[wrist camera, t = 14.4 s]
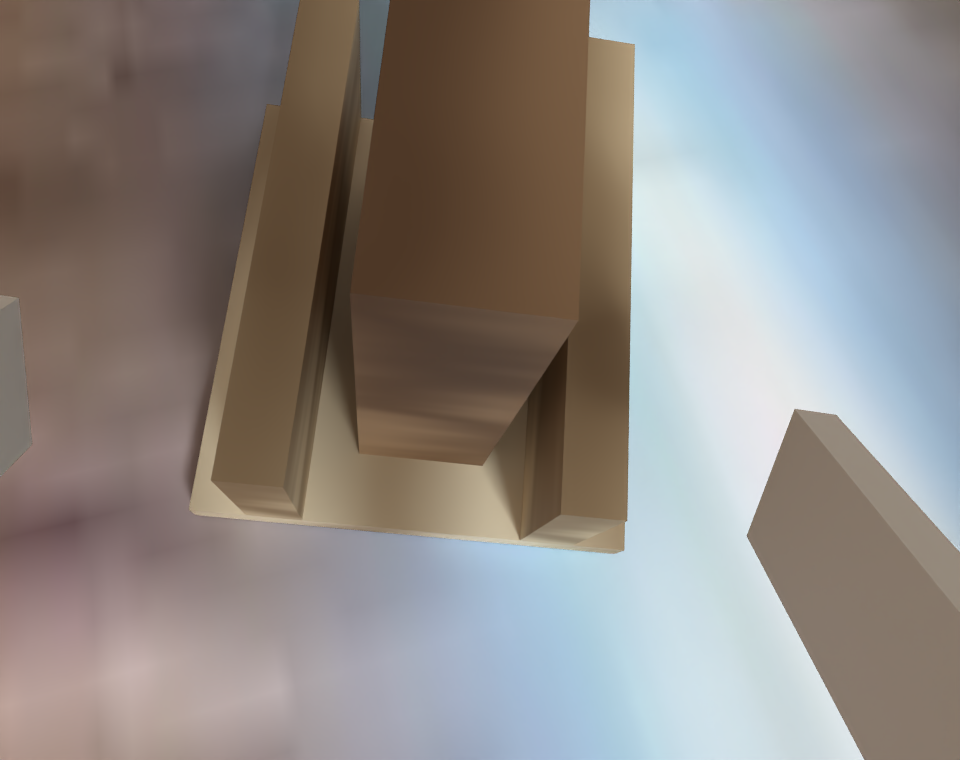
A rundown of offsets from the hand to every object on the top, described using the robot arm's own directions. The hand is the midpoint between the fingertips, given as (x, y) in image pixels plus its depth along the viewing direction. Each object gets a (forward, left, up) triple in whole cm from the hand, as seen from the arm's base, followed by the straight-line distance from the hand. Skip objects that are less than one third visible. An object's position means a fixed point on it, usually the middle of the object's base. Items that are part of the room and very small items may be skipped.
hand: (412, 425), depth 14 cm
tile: (-1, -6, -9) cm, 11 cm away
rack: (-1, -6, -10) cm, 11 cm away
